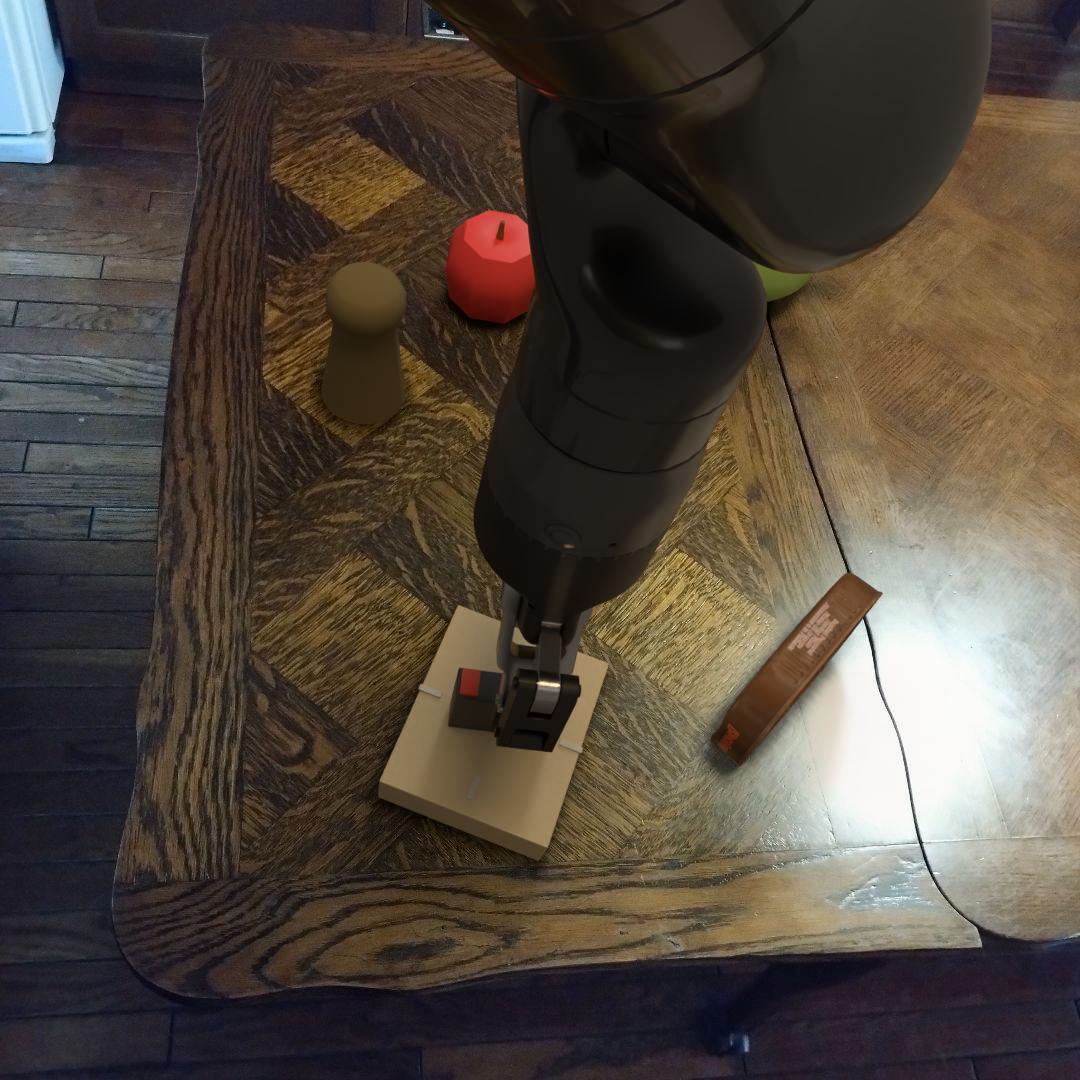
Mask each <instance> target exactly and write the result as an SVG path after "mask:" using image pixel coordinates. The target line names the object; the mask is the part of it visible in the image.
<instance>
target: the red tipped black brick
mask: <svg viewBox="0 0 1080 1080" xmlns="http://www.w3.org/2000/svg"><path fill="white" fill-rule="evenodd" d="M502 674H503V673H497V672H490V671H483V670H475V669H468V668H459V669H458V673H457V677H456V681H455V685H454V689H453V693H452V698H451V704H450V712H449V720H448V726H449V727H457V728H465V729H473V730H481V731H488V732H494V731H492V730H490V720H491V713H492V711H493V708H494V705H495V699H496V694H497V693H499V690H500V685H501V679H502Z"/></svg>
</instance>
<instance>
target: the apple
mask: <svg viewBox="0 0 1080 1080" xmlns="http://www.w3.org/2000/svg"><path fill="white" fill-rule="evenodd" d="M450 238H451V239H450V241H449V245H448V250H447V251H448V252H447V257H446V263H445V268H444V269H445V278H446V285H447V292H448V298H450V299H451V300H452V301H453V302H454V303H455V305H457V307H459V309H461V311H462V312H464V313H465V314H466V315H467V317H468V318H470V319H475V320H480V321H486V322H492V323H497V324H505V323H508V322H510V321H512V320H513V319H515V318H517V317H519V316H521V315H523V314H525V313H526V312H527V313H528V309H529V304H530V300H531V297H532V294H533V289H534V284H535V280H534V270H533V264H532V258H531V251H530V244H529V236H528V223H526V222H525V221H524V220H523V219H522V218H521V217H520V216H519V215H518V214H513V213H508V212H502V211H497V210H491V209H489V210H486V211H484V212H481V213H479V214H477V215H475V216H473V217H471V218H468V219H466V220H465V221H464V222H463V223H461V224H459V225H458V226H457V227H455V228H454V230H453V233H452V236H451V237H450Z"/></svg>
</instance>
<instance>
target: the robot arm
mask: <svg viewBox="0 0 1080 1080" xmlns="http://www.w3.org/2000/svg"><path fill="white" fill-rule="evenodd" d="M422 1H423V2H424V3H426V4H427V5H428V6H429V7H431V9H433V10H434V11H435V12H436V13H437V14H439V15H440V16H441V17H442V18H444V19H445V20H446V21H447V22H448V23H449V24H451V26H453V27H454V28H456V30H458V31H459V32H460V33H461V34H463V35H464V36H465V37H466V38H467V39H468V40H470V41H471V42H472V43H473V44H475V46H477V48H479V49H481V51H483V52H484V53H486V55H487V56H489V57H490V58H491V59H492V60H493V61H495V62H496V63H497V64H498V65H499V66H500V67H501V68H502V69H504V70H505V71H507V72H508V73H509V74H511V75H512V76H514V77H515V93H516V94H515V96H516V97H515V98H516V117H517V127H518V138H519V147H520V157H521V158H520V159H521V169H522V179H523V188H524V197H525V198H524V199H525V208H526V220H527V221H526V222H527V225H528V236H529V244H530V251H531V258H532V264H533V270H534V280H535V284H534V289H533V294H532V297H531V300H530V304H529V309H528V311H527V313H526V317H525V322H524V326H523V329H522V334H521V339H520V343H519V348H518V351H517V356H516V359H515V362H514V365H513V368H512V371H511V372H510V374H509V376H508V379H507V380H506V382H505V385H504V388H503V390H502V392H501V395H500V397H499V401H498V405H497V407H496V412H495V414H494V415H495V416H494V420H493V425H492V428H491V433H490V438H489V442H488V446H487V450H486V454H485V459H484V463H483V467H482V471H481V476H480V480H479V484H478V489H477V493H476V498H475V502H474V507H473V519H472V520H473V521H472V522H473V531H474V535H475V540H476V542H477V546H478V548H479V550H480V552H481V555H482V556H483V558H484V560H485V562H486V563H487V565H488V566H489V567H490V569H491V570H492V571H493V572H494V573H495V575H497V577H498V578H499V579H500V580H501V588H500V604H501V608H502V614H501V619H500V621H501V624H500V629H499V635H498V640H497V645H496V658H497V666H498V667H499V668H500V669H501V670H502V671H503V674H502V679H501V685H500V690H499V693H497V694H496V699H495V705H494V708H493V711H492V713H491V720H490V730H492V731H494V738H496V746H500V747H508V748H516V749H525V750H534V751H542V752H551V753H552V752H553V750H554V748H555V746H556V744H557V742H558V740H559V738H560V736H561V734H562V732H563V730H564V728H565V726H566V724H567V722H568V720H569V718H570V716H571V714H572V712H573V710H574V707H575V705H576V703H577V700H578V697H580V695H581V685H580V680H579V676H577V675H571V674H572V673H573V671H574V666H575V662H576V657H577V653H578V652H579V648H580V643H581V639H582V634H583V628H584V625H585V623H586V622H588V621H589V620H591V617H592V615H593V610H594V608H596V607H597V606H600V605H603V604H604V603H607V602H609V601H612V600H614V599H615V598H618V597H619V596H622V594H624V593H625V592H627V591H628V590H630V588H631V587H633V586H634V585H635V584H636V583H637V582H638V580H639V579H640V578H641V577H642V575H643V574H644V572H645V571H646V570H647V567H648V566H649V564H650V562H651V560H652V558H653V556H654V555H655V553H656V552H657V549H658V548H659V546H660V544H661V542H662V540H663V539H664V537H665V535H666V533H667V532H668V530H669V528H670V527H671V524H672V523H673V521H674V518H675V517H676V515H677V513H678V511H679V509H680V508H681V507H682V505H683V502H684V501H685V499H686V498H687V495H688V494H689V491H690V490H691V488H692V486H693V485H694V482H695V480H696V479H697V477H698V474H699V471H700V469H701V466H702V463H703V461H704V457H705V454H706V451H707V447H708V444H709V441H710V439H711V438H712V435H713V434H714V431H715V430H716V428H717V426H718V425H719V422H720V421H721V418H722V417H723V415H724V413H725V411H726V410H727V408H728V406H729V404H730V402H731V400H732V399H733V397H734V395H735V393H736V391H737V389H738V388H739V385H740V384H741V382H742V380H743V378H744V377H745V375H746V373H747V371H748V369H749V367H750V365H751V363H752V361H753V359H754V357H755V355H756V353H757V351H758V350H759V346H760V344H761V341H762V338H763V335H764V333H765V329H766V325H767V315H768V314H767V312H768V301H767V297H766V292H765V289H764V285H763V282H762V279H761V276H760V273H759V271H758V270H757V268H756V266H755V264H754V263H753V262H755V263H757V264H759V265H761V266H764V267H766V268H769V269H771V270H775V271H779V272H783V273H790V274H809V273H811V274H818V273H823V272H827V271H833V270H835V269H839V268H842V267H844V266H847V265H849V264H853V263H854V262H857V261H858V260H861V259H862V258H864V257H866V256H868V255H870V254H871V253H873V252H874V251H876V250H878V249H879V248H881V247H882V246H883V245H885V244H887V243H888V242H889V241H891V240H892V239H893V238H894V237H896V236H897V235H898V234H899V233H901V232H902V231H903V230H904V229H905V228H906V227H907V226H908V225H909V224H910V223H912V222H913V221H914V220H915V218H917V217H918V215H919V214H920V213H921V212H922V211H923V210H924V209H925V208H926V206H928V204H929V203H930V201H931V200H932V199H933V198H934V197H935V195H936V194H937V192H938V191H939V190H940V189H941V187H942V185H944V183H945V182H946V180H947V178H948V177H949V175H950V173H951V172H952V170H953V168H954V167H955V165H956V163H957V162H958V159H959V158H960V155H961V154H962V152H963V150H964V148H965V145H966V143H967V141H968V139H969V137H970V134H971V132H972V129H973V127H974V124H975V122H976V119H977V117H978V114H979V110H980V108H981V104H982V102H983V97H984V92H985V88H986V83H987V78H988V75H989V69H990V62H991V56H992V55H991V54H992V42H993V41H992V40H993V39H992V38H993V35H992V34H993V32H992V29H993V26H992V25H993V24H992V11H991V1H990V0H422ZM515 627H516V628H519V630H520V632H521V634H522V636H523V638H524V639H525V640H526V641H527V642H528V643H530V644H532V645H536V647H535V646H527V645H519V644H516V643H514V642H513V641H512V639H513V634H514V629H515Z"/></svg>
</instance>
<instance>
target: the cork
mask: <svg viewBox="0 0 1080 1080" xmlns="http://www.w3.org/2000/svg"><path fill="white" fill-rule="evenodd" d="M324 294H325V295H324V297H325V307H326V308H325V309H326V313H327V315H328V317H329V319H330V320H331V322H332V326H331V332H330V338H329V343H328V348H327V353H326V360H325V366H324V370H323V377H322V383H321V387H320V388H321V389H320V390H321V399H322V400H323V402H324V404H325V406H326V408H327V409H328V411H330V412H331V413H332V414H333V415H334V416H336V417H337V418H339V419H340V420H343V421H345V422H347V423H352V424H356V425H375V424H378V423H382V422H385V421H388V420H389V419H390V418H392V417H394V416H396V414H397V413H398V412H399V411H400V409H401V408H402V406H403V405H404V401H405V398H406V391H405V383H404V373H403V366H402V357H401V356H402V355H401V347H400V339H399V330H398V327H399V326H400V325H401V323H402V321H403V319H404V317H405V313H406V311H407V303H408V302H407V295H406V290H405V287H404V285H403V284H402V281H401V280H400V278H399V277H398V276H397V275H396V274H395V273H394V272H393V271H392V270H391V269H390V268H388V267H385V266H384V265H382V264H380V263H375V262H370V261H356V262H353V263H348V264H346V265H344V266H343V267H341V268H339V269H338V270H337V271H336V272H335V273H334V274H333V275H332V276H331V278H330V279H329V281H328V284H327V287H326V289H325V293H324Z"/></svg>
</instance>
